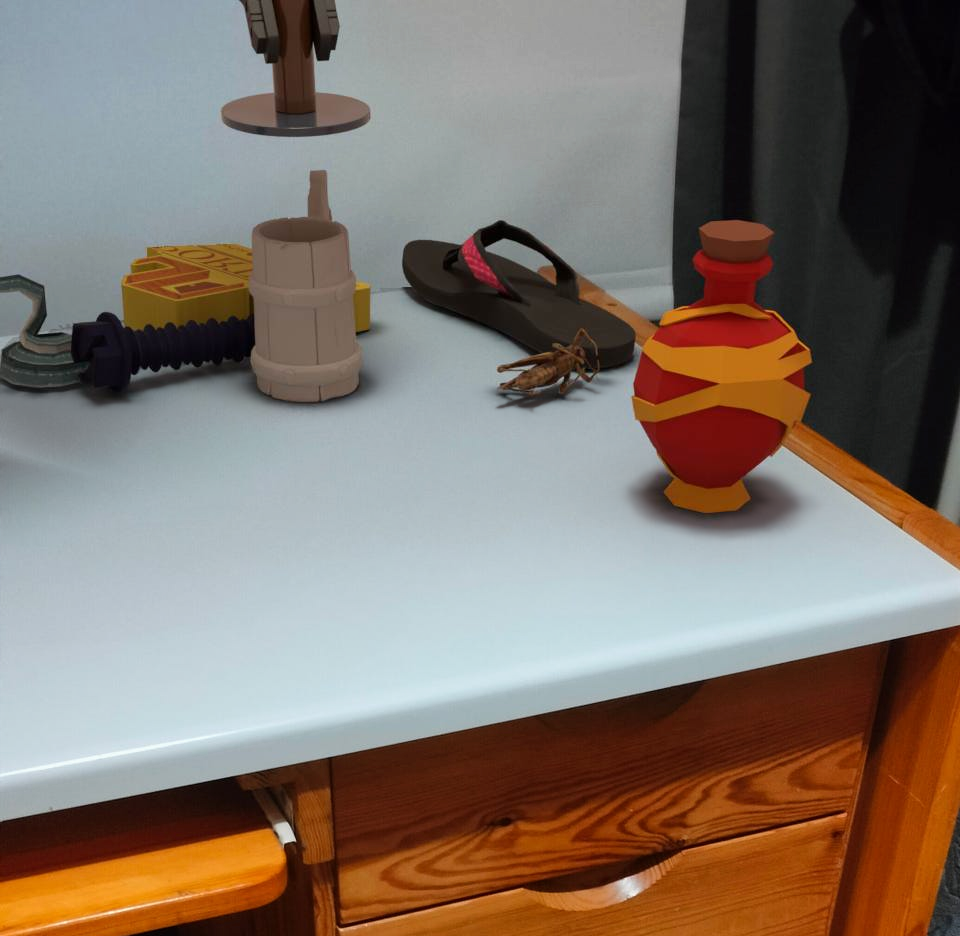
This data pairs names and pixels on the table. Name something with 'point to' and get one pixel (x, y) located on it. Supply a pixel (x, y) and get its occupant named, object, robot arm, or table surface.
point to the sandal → (516, 294)
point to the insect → (549, 368)
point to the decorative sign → (200, 287)
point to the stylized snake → (37, 345)
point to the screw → (155, 347)
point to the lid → (295, 88)
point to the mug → (304, 304)
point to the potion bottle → (721, 375)
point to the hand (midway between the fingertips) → (299, 52)
